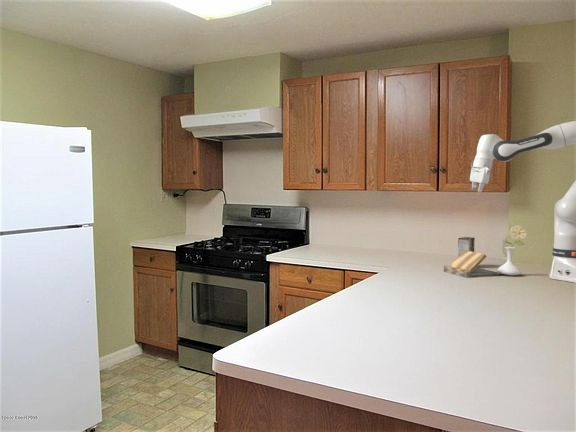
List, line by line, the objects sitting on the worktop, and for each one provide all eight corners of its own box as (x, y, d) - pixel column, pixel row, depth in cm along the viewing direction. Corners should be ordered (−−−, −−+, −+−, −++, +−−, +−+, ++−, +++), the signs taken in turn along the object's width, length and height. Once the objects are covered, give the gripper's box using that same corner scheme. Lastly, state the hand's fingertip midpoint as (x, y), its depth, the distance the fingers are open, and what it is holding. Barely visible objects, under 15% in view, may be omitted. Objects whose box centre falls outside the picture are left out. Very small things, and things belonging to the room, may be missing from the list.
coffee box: (462, 265, 266) (463, 236, 265) (474, 266, 262) (475, 237, 261) (457, 267, 259) (458, 238, 258) (469, 268, 255) (470, 238, 254)
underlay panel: (497, 275, 235) (497, 269, 235) (466, 277, 229) (466, 271, 228) (473, 269, 251) (473, 264, 251) (443, 271, 245) (443, 265, 244)
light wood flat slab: (486, 256, 233) (485, 254, 233) (470, 272, 231) (469, 270, 230) (465, 252, 247) (464, 250, 247) (450, 267, 245) (449, 265, 244)
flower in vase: (495, 275, 235) (497, 225, 233) (497, 271, 245) (499, 223, 243) (525, 278, 228) (527, 226, 227) (525, 274, 239) (527, 225, 237)
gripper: (495, 166, 232) (489, 194, 234) (482, 165, 253) (476, 191, 255) (482, 164, 233) (476, 191, 235) (470, 163, 253) (464, 189, 255)
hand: (476, 191), depth 245 cm, fingers open, 8 cm apart
